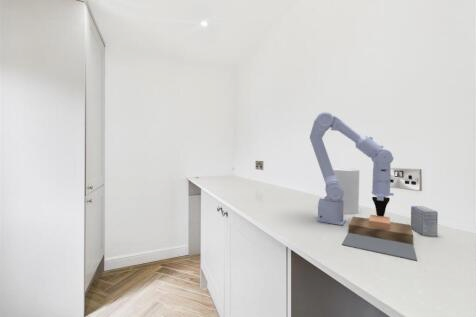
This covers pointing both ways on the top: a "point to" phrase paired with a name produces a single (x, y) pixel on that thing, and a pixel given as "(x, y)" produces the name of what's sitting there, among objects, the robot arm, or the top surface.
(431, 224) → the medicine box
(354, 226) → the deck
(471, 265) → the top surface
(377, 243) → the mat
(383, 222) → the tan rectangular slab
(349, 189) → the canister
